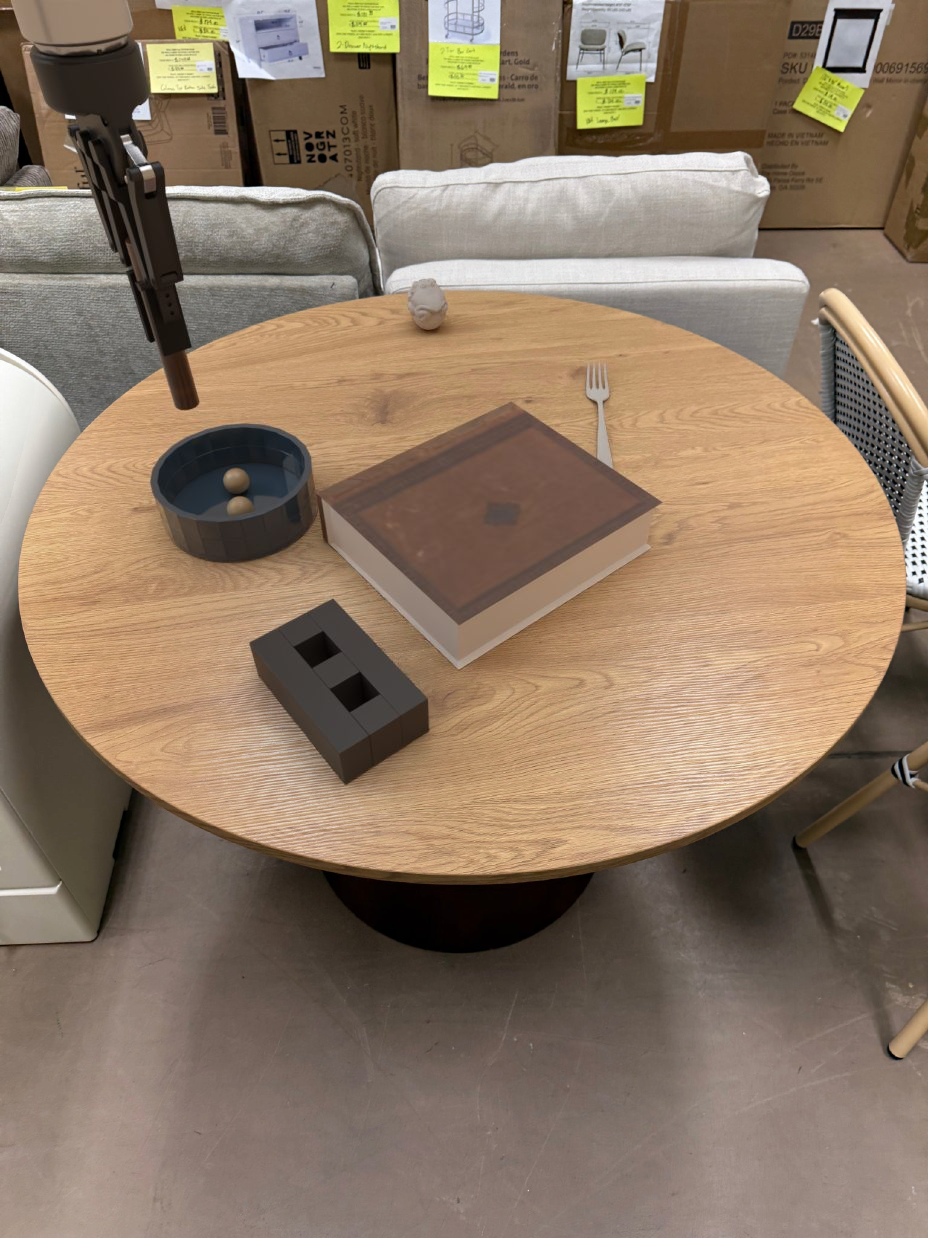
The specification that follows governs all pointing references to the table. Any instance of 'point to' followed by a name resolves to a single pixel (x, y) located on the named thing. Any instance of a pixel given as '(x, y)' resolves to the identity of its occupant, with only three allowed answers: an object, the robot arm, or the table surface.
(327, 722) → the holder
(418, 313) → the grey lumpy oval lump
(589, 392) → the fork
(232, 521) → the bowl
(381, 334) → the table surface
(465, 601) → the book
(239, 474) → the bead
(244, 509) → the bead
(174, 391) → the stirring stick
